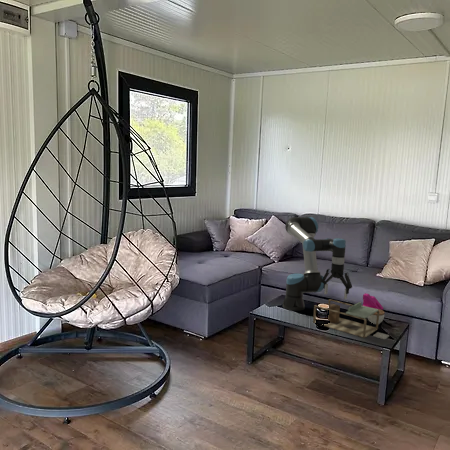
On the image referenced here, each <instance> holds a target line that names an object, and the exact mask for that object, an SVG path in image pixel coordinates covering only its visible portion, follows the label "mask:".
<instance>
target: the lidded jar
mask: <svg viewBox="0 0 450 450" xmlns="http://www.w3.org/2000/svg"><path fill="white" fill-rule="evenodd" d="M375 309H377V308H375ZM378 311H379V322H378V325H380V324H381V323H382V322H383V321H384V318H385V310H384V309H382V310H381V309H378ZM366 319H367V321H368V322H369V323H370V322H371V323H370V324H372V323H373V325H376V320H377V312H375V313H374V314H372V315H370V316H369V317H367V318H366Z"/></svg>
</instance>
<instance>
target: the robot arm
mask: <svg viewBox="0 0 450 450" xmlns="http://www.w3.org/2000/svg"><path fill="white" fill-rule="evenodd" d="M284 226H285V231H286V233H287V234H288V235H290V236H293V237H294V238H295V239H297V241H299V242H300V243H301V244H302V251H303V252H302V253H303V261H304V262H303V263H304V270H305V271H304V273H303V274H302V273H291V274H288V276H287V277H286V281H285V282H286V287H285V288H286V289H285V297H284V299H283V302H282V308H283V309H285V310H287V311H291V312H292V311H293V312H300V311H303V310H305V308H306V306H305V301H304V298H303V297H304V294H311V293H314V294H315V293H321V292H323V290H324V295H328V291H329V282H330V280H332V279H333V278H335V279H339V280H340V281H341V283H342V284H343V286H344V297H343V299H344V300H348V295H349V294H350V289H352V288H353V285H352V282H351V279H350V276H349V272H344V269H345V257H346V247H347V246H346V239H345V238H338V237H337V238H330V237H329V238H328V237H327V238H322V239H317V238H316V239H315V236H317V235H316V234H317V233H318V231H319V223H318V221H317V219H316V218H314V217H310V216H301V217H300V216H293V217H291V218H289V219H287V220H286V222H285V225H284ZM316 252H331V253H332V256H331V268H327V269H326V271H325V274H324V276H323V275H322V274H321V271H319V270H318V262H317V261H318V260H317V254H316ZM330 273H331V274H330Z"/></svg>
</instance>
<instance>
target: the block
mask: <svg viewBox="0 0 450 450" xmlns="http://www.w3.org/2000/svg"><path fill="white" fill-rule="evenodd" d="M329 309H331V310H335V311H339V312H341V311H340V310H341V305H339V304H335V303H331V304H330V305H329ZM339 318H340V313H336V312H333V311H329V315H328V320H329V321H330V322H332V323H337V322H339Z"/></svg>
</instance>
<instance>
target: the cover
mask: <svg viewBox="0 0 450 450" xmlns="http://www.w3.org/2000/svg"><path fill="white" fill-rule="evenodd" d="M352 305H353V306H349V307H348V308H347V311H345V313H346V314H349V315H353V316H357V317H361V318H364V319H368V318H367V317H369V316H370V315H372V314H374V313H375V312H377V311H378V309H374V308H370V307H366V306H362V305H363V304H362V302H361V301H359V302H357V303H355V304H352Z"/></svg>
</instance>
